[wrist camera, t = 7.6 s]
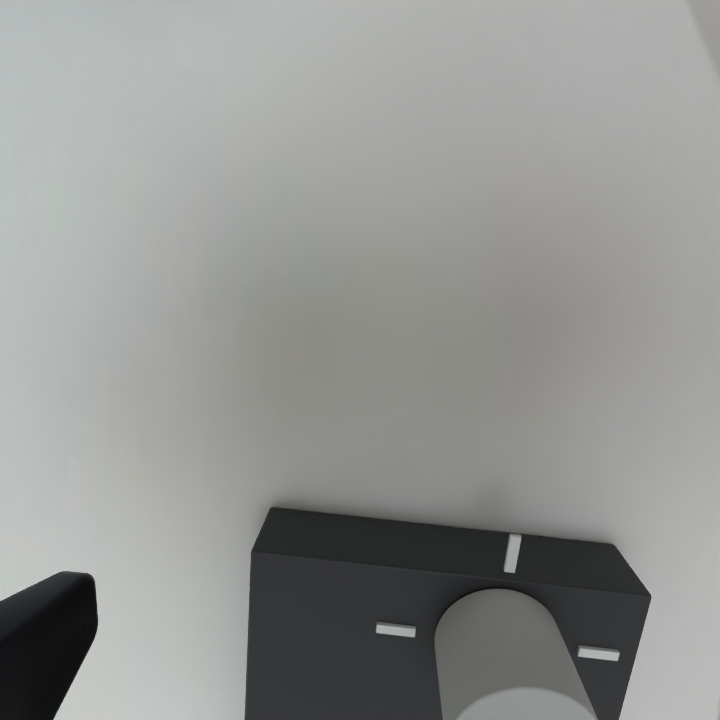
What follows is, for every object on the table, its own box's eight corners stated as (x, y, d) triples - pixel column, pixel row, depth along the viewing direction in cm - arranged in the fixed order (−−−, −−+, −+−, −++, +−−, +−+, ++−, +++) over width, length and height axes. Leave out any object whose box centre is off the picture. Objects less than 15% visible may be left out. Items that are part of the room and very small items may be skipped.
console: (624, 504, 20) (667, 553, 17) (552, 805, 23) (576, 890, 20) (272, 466, 20) (251, 507, 17) (257, 767, 24) (238, 845, 21)
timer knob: (570, 596, 17) (628, 711, 13) (544, 698, 18) (590, 833, 14) (444, 579, 17) (461, 687, 13) (425, 681, 18) (436, 810, 14)
